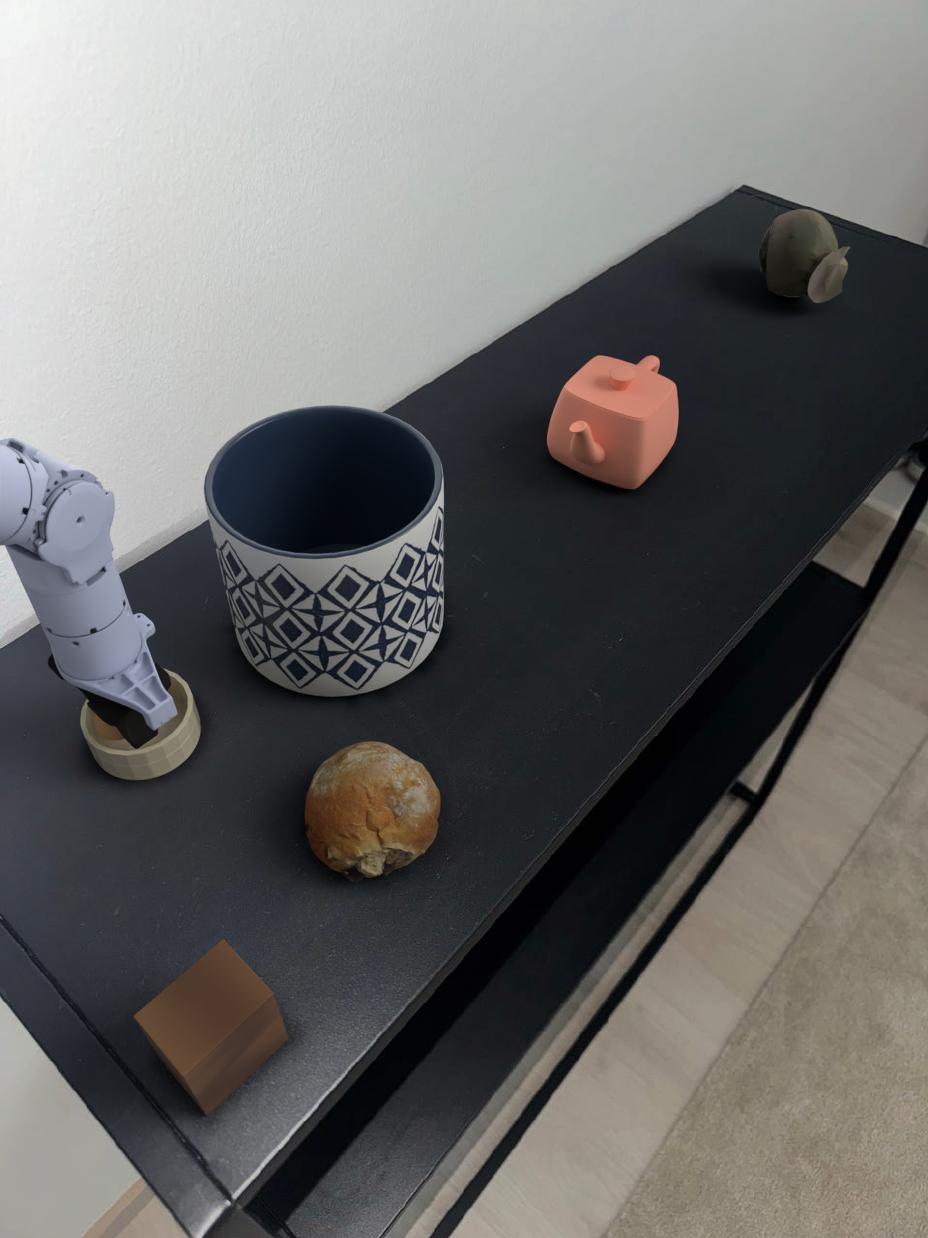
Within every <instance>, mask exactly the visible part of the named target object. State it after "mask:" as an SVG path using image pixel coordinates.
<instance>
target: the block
mask: <svg viewBox="0 0 928 1238" xmlns="http://www.w3.org/2000/svg"><path fill="white" fill-rule="evenodd" d="M280 1011H281V1010H280V1009H279V1005H278V1002H277V1000H276V997H275V993H274V992H273V991H272V989H270V987H269V986H268V985H267V984H266V982H264V980H262V979H261V978H260V976H259V975H258V974H257V973H256V972H255V971H254V970H253V969H252V968H251V967H250V965H248V963H246V962H245V960H244V959H243V958H242V957H241V956H240V955H239V954H238V953H237V952H236V951H235V949H234V948H232V946H231V945H230V944H229V943H228V942H227V941H226V940H225V939H221V940H220V941H219V942H218V943H217V944H215V945H214V946H213V947H212V948H210V950H208V951H207V952H206V953H205V954H204V955H202V956H201V957H200V958H199V959H198V960H197V961H196V962H195V963H193V964H192V965H191V966H190V967H189V968H187V969H186V970H185V971H184V972H183V973H182V974H180V975H179V976H178V977H177V978H175V980H174V981H172V982H171V983H170V984H169V985H168V986H167V987H165V988H164V989H163V990H162V991H161V992H159V993H158V994H156V995H155V997H154V998H153V999H151V1000H150V1001H149V1002H148V1003H147V1004H146V1005H144V1006H143V1007H142V1008H141V1009H140V1010H139V1011H137V1012H136V1013H135V1014H134V1015H133V1018H134V1020H135V1022H136V1024H138V1027H139V1028H140V1030H141V1031H142V1033H143V1034H144V1036H145V1037H146V1039H147V1040H148V1042H149V1043H150V1045H151V1046H152V1048H153V1050H154V1051H155V1053H156V1055H157V1056H158V1057H159V1059H160V1060H161V1062H162V1063H163V1064H164V1065H165V1067H166V1068H167V1069H168V1071H169V1072H170V1073H171V1074H172V1075H173V1077H174V1078H175V1079H176V1080H177V1081H178V1083H179V1084H180V1085H181V1087H182V1088H183V1089H184V1090H185V1091H186V1092H187V1094H188V1095H189V1096H190V1098H191V1099H192V1100H193V1102H194V1103H195V1104H196V1105H197V1107H199V1109H200V1110H201V1111H202V1113H203V1114H204V1115H205V1116H206V1117H208V1116H209V1115H211V1114H212V1113H213V1112H214V1111H215V1110H216V1109H217V1108H218V1107H219V1106H220V1105H221V1104H222V1103H223V1102H224V1101H225V1100H226V1099H228V1098H229V1096H231V1094H232V1093H234V1091H236V1090H237V1089H238V1088H239V1087H240V1086H241V1085H242V1084H243V1083H245V1081H246V1080H247V1079H248V1078H249V1077H250V1076H252V1074H253V1073H254V1072H255V1071H256V1070H258V1068H260V1067H261V1066H262V1065H263V1064H264V1063H265V1062H266V1061H267V1060H268V1059H269V1058H270V1057H271V1056H272V1055H273V1054H274V1053H275V1052H277V1050H278V1049H280V1047H282V1045H284V1044H285V1043H286V1042H287V1041H288V1040H289V1035H288V1033H287V1030H286V1026H285V1023H284V1020H283V1017H282V1015H281V1012H280Z"/></svg>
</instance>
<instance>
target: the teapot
mask: <svg viewBox="0 0 928 1238" xmlns="http://www.w3.org/2000/svg"><path fill="white" fill-rule="evenodd" d="M660 364H661V362H660V359H659V357H658V356H656V355H651V354H650V355H646V356H645V357H644V358H642V359H641V360H640V361H639V362H638V363H635V364H634V363H631V362H628V361H626V360H622V359H618V358H614V357H611V356H607V355H596V356H594V357H592V358H591V359H590V360H589V361H588V362H586V363H585V364H584V365H582V367H581V368H580V369H579V370H578V371H577V372H576V373H574V375H572V376H571V378H570V379H569V380H568V381H566V383H565V384H564V386H563V387H562V389H561V391H560V392H559V395H558V398H557V400H556V403H555V406H554V408H553V411H552V414H551V417H550V420H549V424H548V429H547V436H546V445H547V448H548V451H549V454H550V456H551V457H552V458H553V459H554V460H556V461H557V462H559V463H561V464H562V465H564V466H565V467H568V468H570V469H571V470H573V471H576V472H577V473H579V474H582V475H584V476H586V477H588V478H591V479H593V480H596V481H599V482H602V483H605V484H608V485H611V486H615V487H618V488H621V489H627V490H635V489H637V488H639V487H640V486H641V485H642V484H643V483H645V482H646V480H647V479H648V478H649V477H650V476H651V475H653V473H654V472H655V471H656V469H657V468H658V467H659V466H660V465H661V463H662V462H663V460H664V459H665V458H666V457H667V455H668V454H669V452H670V451H671V450H672V447H673V446H674V444H675V442H676V438H677V435H678V426H679V411H680V410H679V398H678V390H677V389H678V388H677V385H676V383H675V382H674V381H673V380H672V379H670V378H667V377H666V376H664V375H662V374H660V373H658V372H659V369H660Z"/></svg>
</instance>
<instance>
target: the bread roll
mask: <svg viewBox="0 0 928 1238" xmlns="http://www.w3.org/2000/svg"><path fill="white" fill-rule="evenodd" d="M309 785H310V786H309V788H308V791H307V794H306V797H305V805H304V825H305V826H304V828H305V832H306V833H305V834H306V836H307V839H308V843H309V847H310V848H311V850H312V852H313V853H314V854H315V855H316V857H317V858H318V859H319V860H320V861H321V862H323V864H325V865H327V866H328V868H330V869H331V870H333V871H335V872H337V873H340V874H342V875H343V876H345V878H347V879H348V880H349V881H351V882H356V883H358V882H360V881H361V880H363V879H364V878H366V879H373V878H376V877H379V876H381V877H386V876H387V875H389V874H391V873H392V872H393V871H395V870H398V869H400V868H403V867H407V866H408V865H409V864H411V863H412V862H414V861H415V860H416V859H418V857H420V856H421V855H424V854H425V853H426V851H427V850H428V849H429V848H430V846H431V845H432V844H433V843H434V841H435V839H436V837H437V833H438V830H439V822H438V819H439V817H440V813H441V803H442V802H441V793H440V790H439V788H438V787H437V784H436V783H435V781H434V780H433V778H432V776H431V774H430V772H429V771H428V770H427V769H426V767H425V766H424V764H423V763H421V762H419V761H417V760H415V759H413V758H411V757H409V756H408V755H407V754H406V753H404V752H403V751H401V750H399V749H397V748H396V747H394V746H392V745H390V744H388V743H385V742H381V741H373V740H368V741H360V742H356V743H353V744H351V745H349V746H346V747H343V748H342V749H340V750H338V751H336V752H335V753H334V754H333V755H332V756H330V757H328V758H327V759H325V760H324V761H323V762H322V763H321V764H320V765H319V766H318V768H317V769H316V771H315V773H314V775H313V777H312V779H311V783H310V784H309Z"/></svg>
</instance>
